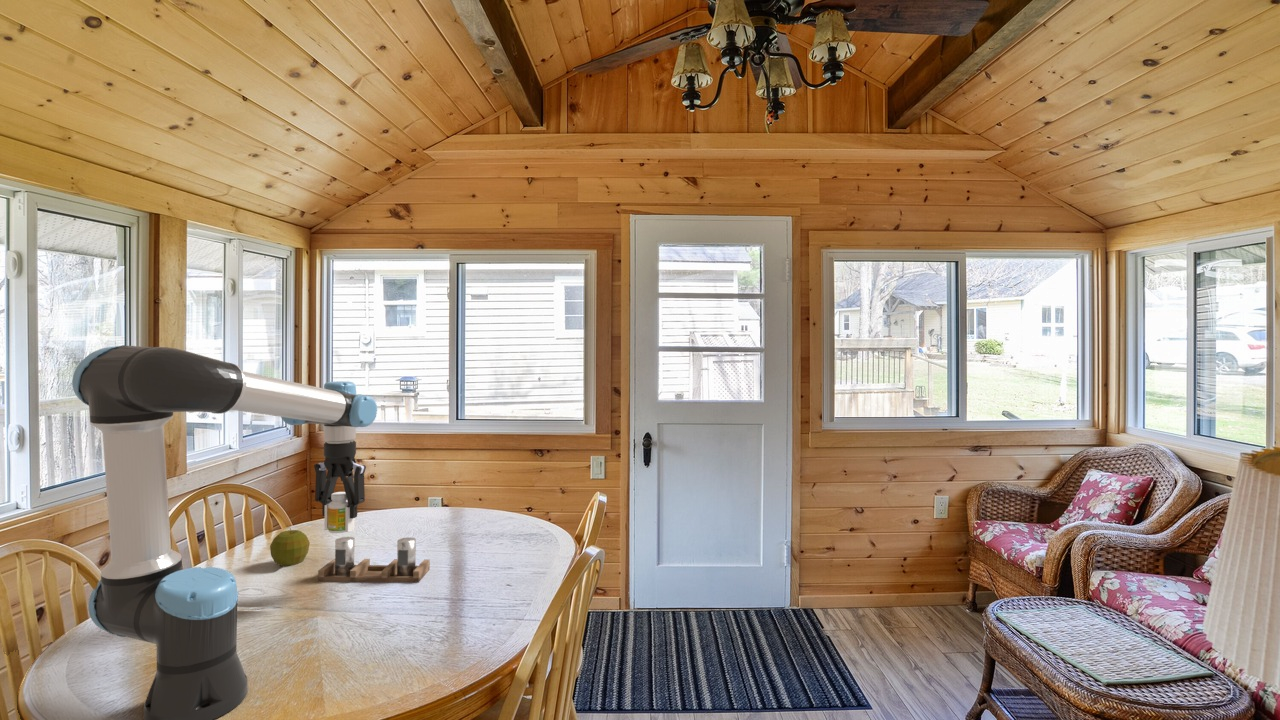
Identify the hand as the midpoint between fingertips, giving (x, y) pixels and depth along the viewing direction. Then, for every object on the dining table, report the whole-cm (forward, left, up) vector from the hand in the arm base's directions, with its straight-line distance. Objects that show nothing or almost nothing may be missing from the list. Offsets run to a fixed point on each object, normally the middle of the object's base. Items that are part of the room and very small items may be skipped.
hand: (339, 529), depth 155 cm
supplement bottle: (0, 0, -1) cm, 1 cm away
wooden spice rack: (+10, -5, -17) cm, 21 cm away
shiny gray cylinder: (+10, +3, -16) cm, 19 cm away
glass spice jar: (+10, -14, -16) cm, 23 cm away
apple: (+20, +24, -17) cm, 36 cm away
